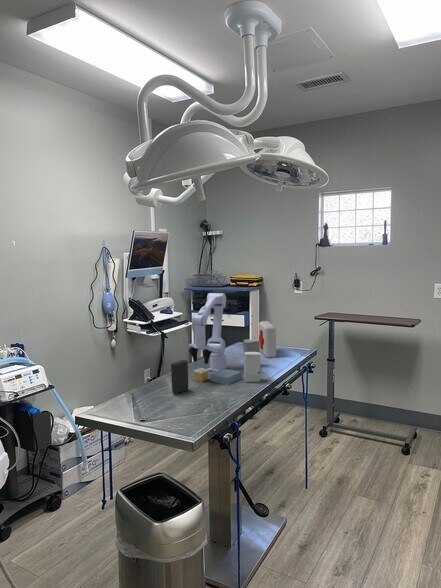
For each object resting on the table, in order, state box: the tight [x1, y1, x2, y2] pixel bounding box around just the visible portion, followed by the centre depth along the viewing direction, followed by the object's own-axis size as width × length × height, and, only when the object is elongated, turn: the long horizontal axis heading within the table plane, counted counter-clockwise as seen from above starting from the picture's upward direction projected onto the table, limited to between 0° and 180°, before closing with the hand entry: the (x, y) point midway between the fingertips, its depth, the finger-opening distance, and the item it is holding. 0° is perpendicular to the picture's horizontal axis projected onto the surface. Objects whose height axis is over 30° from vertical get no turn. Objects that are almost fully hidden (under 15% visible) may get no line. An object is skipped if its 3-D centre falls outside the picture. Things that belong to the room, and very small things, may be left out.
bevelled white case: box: [258, 320, 277, 359], centre depth 282 cm, size 21×8×20 cm, turn 6°
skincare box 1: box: [242, 338, 261, 354], centre depth 255 cm, size 8×7×16 cm
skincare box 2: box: [243, 351, 262, 383], centre depth 229 cm, size 8×6×15 cm
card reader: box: [170, 359, 189, 395], centre depth 214 cm, size 9×4×15 cm, turn 145°
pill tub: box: [193, 367, 209, 383], centre depth 233 cm, size 5×5×6 cm
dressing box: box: [210, 368, 243, 386], centre depth 231 cm, size 13×11×4 cm
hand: (200, 362), depth 232 cm, fingers open, 7 cm apart
